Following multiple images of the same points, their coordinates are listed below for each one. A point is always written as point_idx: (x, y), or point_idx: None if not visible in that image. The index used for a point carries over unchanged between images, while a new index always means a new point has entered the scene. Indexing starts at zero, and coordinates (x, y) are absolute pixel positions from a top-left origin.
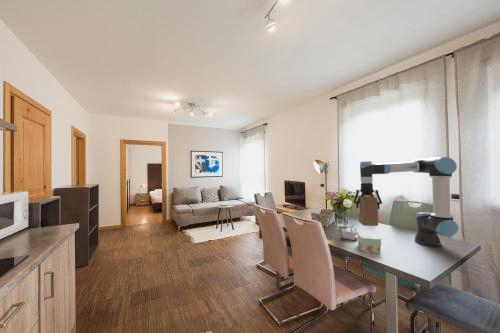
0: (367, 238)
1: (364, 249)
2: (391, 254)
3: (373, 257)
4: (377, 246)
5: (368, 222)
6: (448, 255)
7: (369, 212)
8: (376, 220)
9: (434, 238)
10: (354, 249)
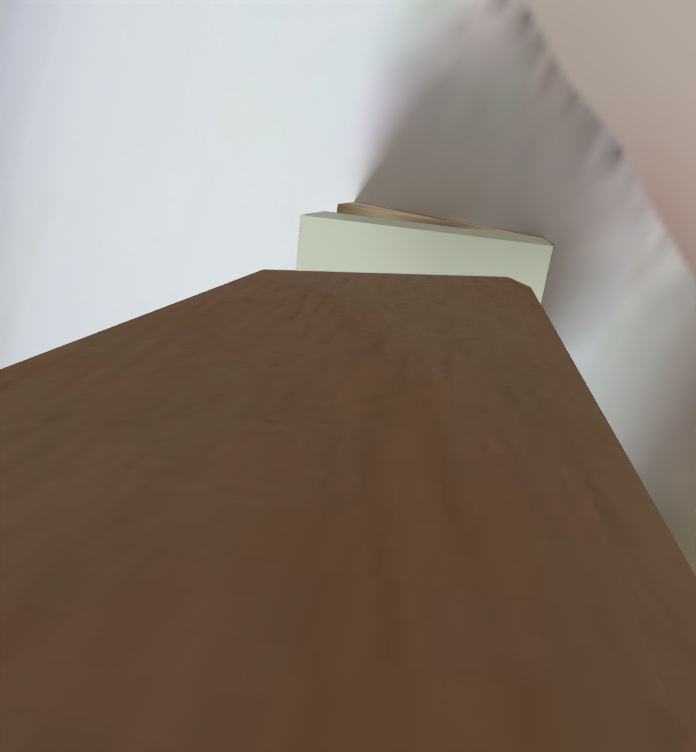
0: (468, 236)
1: (506, 232)
2: (258, 191)
3: (471, 76)
4: (364, 213)
5: (422, 280)
6: None
7: (341, 337)
8: (239, 282)
9: None
10: (590, 296)
